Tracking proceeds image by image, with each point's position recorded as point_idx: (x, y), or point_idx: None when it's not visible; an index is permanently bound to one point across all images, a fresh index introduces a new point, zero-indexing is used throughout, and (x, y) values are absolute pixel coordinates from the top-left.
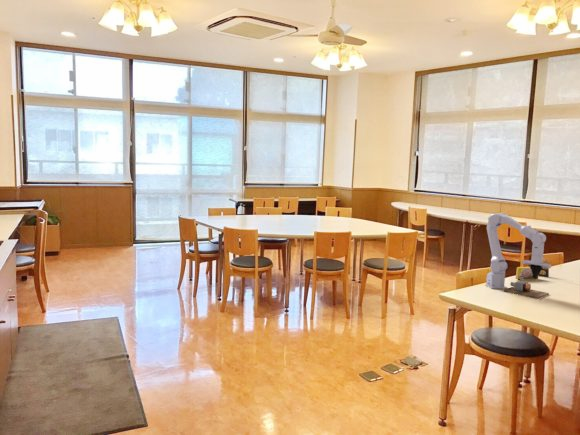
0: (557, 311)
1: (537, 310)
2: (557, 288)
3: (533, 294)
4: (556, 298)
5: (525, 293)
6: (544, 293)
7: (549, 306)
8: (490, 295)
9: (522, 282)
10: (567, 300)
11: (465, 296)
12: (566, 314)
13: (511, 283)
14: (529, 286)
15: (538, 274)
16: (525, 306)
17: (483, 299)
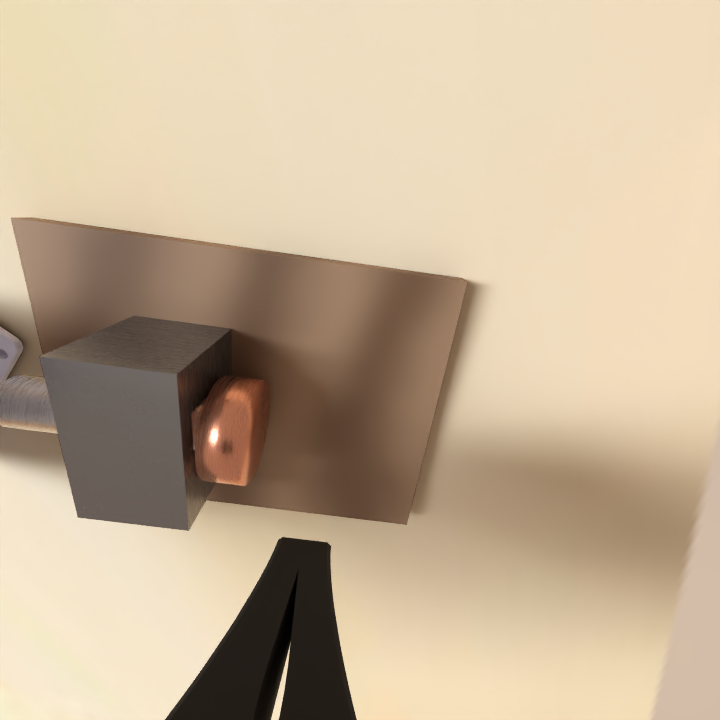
0: (562, 680)
1: (455, 714)
2: None
3: (343, 464)
4: (552, 378)
5: (274, 479)
6: (426, 342)
7: (509, 625)
8: (111, 623)
9: (144, 473)
10: (661, 378)
11: (48, 707)
12: (611, 698)
13: (25, 429)
14: (253, 430)
15: (334, 640)
16: (380, 693)
17: (146, 703)
